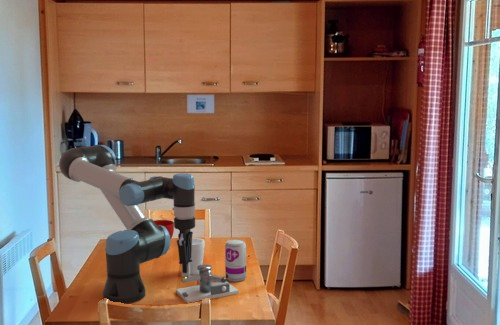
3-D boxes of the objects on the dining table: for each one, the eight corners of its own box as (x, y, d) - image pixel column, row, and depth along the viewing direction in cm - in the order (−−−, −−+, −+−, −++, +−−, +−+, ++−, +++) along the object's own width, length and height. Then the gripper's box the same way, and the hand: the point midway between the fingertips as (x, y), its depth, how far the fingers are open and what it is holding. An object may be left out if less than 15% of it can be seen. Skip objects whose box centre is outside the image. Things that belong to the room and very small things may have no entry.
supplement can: (238, 283, 219) (238, 245, 217) (221, 279, 223) (220, 242, 221) (250, 277, 226) (249, 240, 223) (232, 273, 230) (232, 237, 228)
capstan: (227, 295, 203) (227, 271, 202) (189, 302, 196) (189, 278, 195) (209, 281, 217) (209, 259, 216) (173, 287, 211) (173, 265, 209)
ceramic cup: (140, 248, 265) (139, 228, 263) (152, 239, 281) (152, 219, 280) (167, 250, 263) (166, 229, 261) (177, 240, 279) (177, 220, 278)
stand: (188, 304, 199) (187, 292, 198) (175, 292, 210) (175, 281, 210) (239, 294, 208) (239, 283, 207) (225, 283, 219) (225, 272, 218)
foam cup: (201, 276, 227) (200, 245, 225) (179, 275, 229) (178, 244, 227) (207, 268, 236) (207, 238, 234) (186, 267, 238) (185, 237, 236)
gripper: (179, 212, 210) (180, 273, 213) (169, 221, 197) (170, 286, 200) (199, 213, 209) (200, 274, 212) (190, 221, 196) (191, 287, 199)
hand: (186, 280), depth 206 cm, fingers closed
